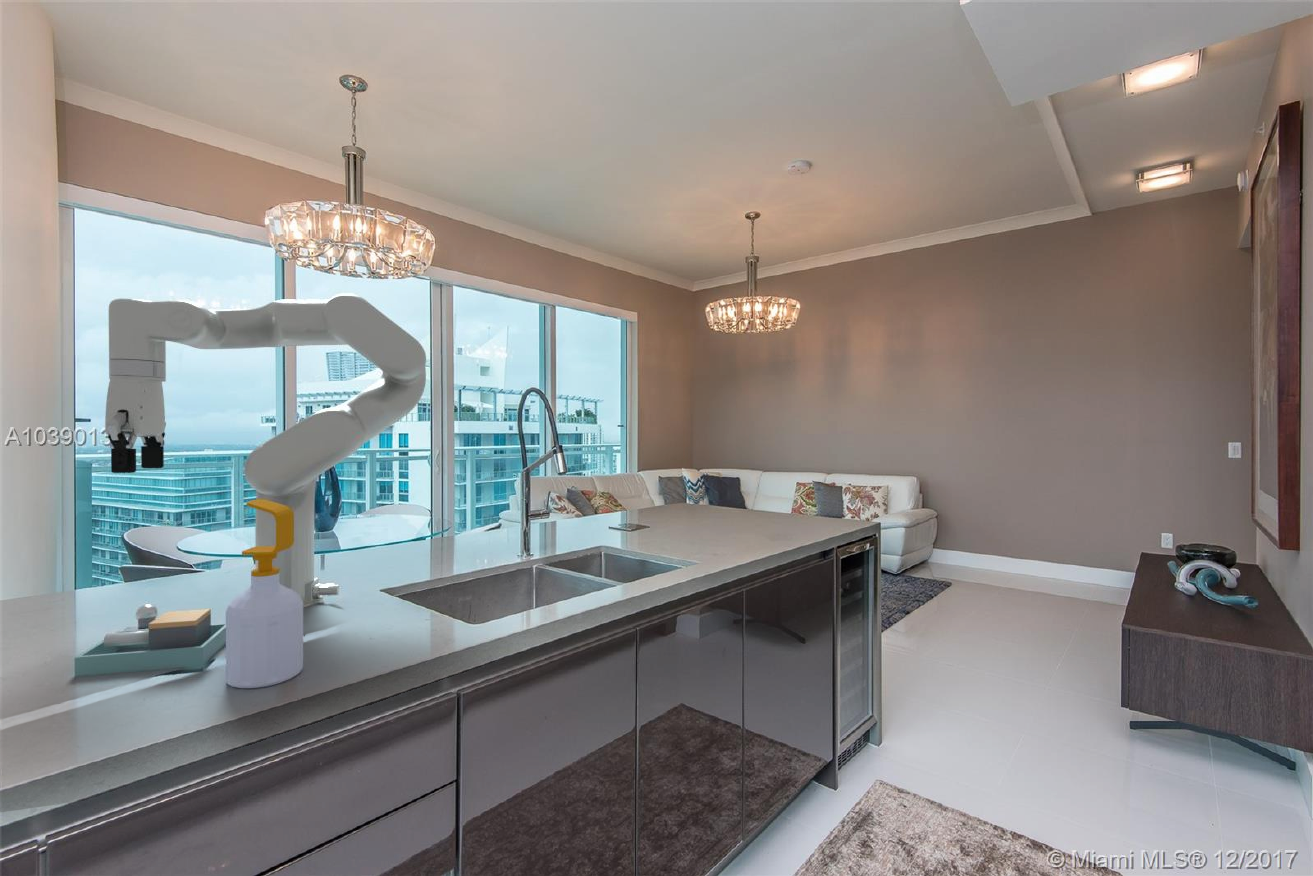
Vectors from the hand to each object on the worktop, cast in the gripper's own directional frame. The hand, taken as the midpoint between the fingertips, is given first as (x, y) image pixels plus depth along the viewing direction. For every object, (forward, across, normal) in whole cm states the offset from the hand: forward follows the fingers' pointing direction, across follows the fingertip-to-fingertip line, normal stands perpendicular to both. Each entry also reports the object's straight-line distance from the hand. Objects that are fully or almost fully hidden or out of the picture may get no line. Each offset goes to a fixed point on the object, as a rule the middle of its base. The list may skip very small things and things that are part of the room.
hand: (138, 470), depth 106 cm
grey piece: (+26, +12, +6) cm, 30 cm away
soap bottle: (+26, +32, +28) cm, 50 cm away
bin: (+26, +23, +12) cm, 37 cm away
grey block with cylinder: (+26, +23, +12) cm, 37 cm away
